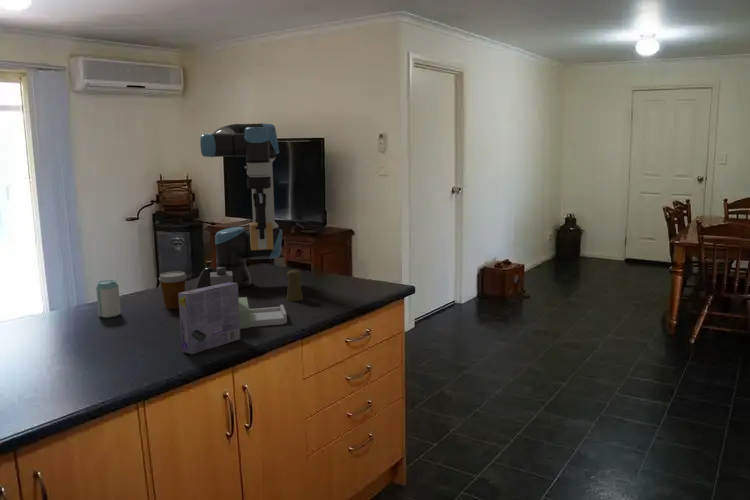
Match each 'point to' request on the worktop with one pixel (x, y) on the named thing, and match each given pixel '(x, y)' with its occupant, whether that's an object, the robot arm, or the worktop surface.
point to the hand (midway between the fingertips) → (261, 246)
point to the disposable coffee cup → (172, 287)
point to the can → (108, 299)
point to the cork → (294, 286)
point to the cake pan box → (209, 317)
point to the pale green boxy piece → (245, 314)
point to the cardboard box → (255, 236)
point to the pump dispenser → (205, 278)
